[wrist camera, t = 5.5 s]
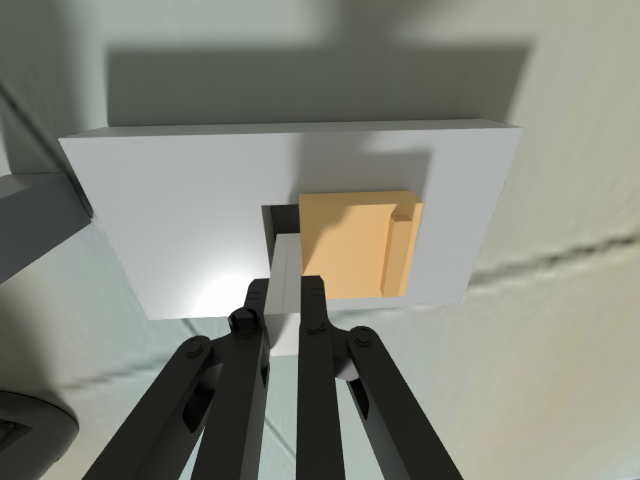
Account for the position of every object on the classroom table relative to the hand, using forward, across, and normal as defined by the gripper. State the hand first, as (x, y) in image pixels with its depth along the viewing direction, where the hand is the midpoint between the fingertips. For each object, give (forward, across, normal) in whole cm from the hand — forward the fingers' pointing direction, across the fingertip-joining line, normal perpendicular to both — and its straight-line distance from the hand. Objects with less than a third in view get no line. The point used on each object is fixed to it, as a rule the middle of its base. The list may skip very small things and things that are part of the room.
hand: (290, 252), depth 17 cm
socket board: (+6, +1, 0) cm, 6 cm away
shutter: (+1, +4, 0) cm, 4 cm away
